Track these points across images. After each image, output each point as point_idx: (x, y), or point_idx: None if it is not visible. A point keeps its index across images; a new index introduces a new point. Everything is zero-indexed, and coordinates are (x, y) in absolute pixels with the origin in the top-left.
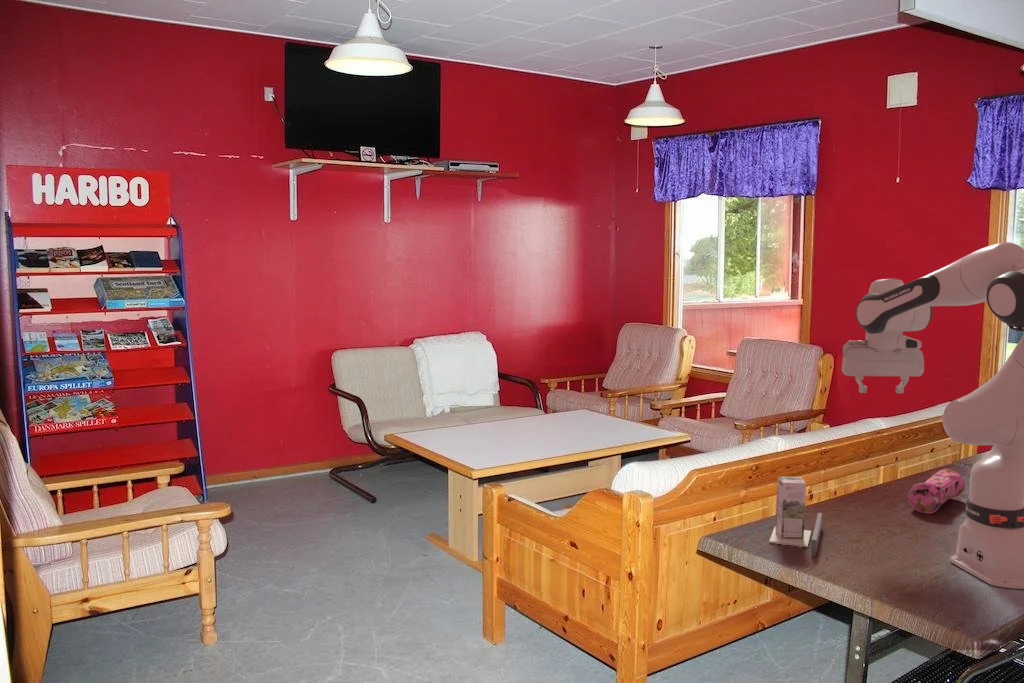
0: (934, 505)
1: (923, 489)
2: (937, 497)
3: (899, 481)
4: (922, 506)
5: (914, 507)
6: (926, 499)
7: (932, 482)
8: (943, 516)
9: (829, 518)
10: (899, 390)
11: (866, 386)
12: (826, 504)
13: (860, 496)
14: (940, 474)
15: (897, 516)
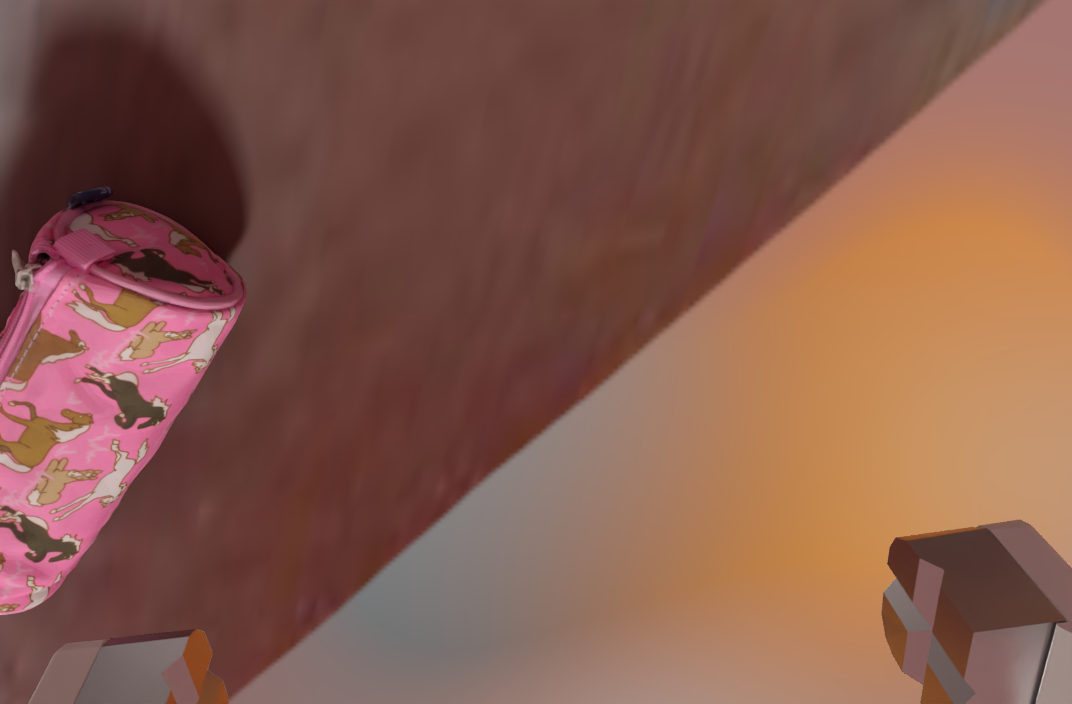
0: (106, 209)
1: (146, 275)
2: (72, 230)
3: None
4: (178, 229)
5: (221, 259)
6: (144, 238)
7: (72, 382)
8: (74, 178)
9: (732, 41)
10: (144, 670)
11: (979, 646)
12: (671, 294)
13: (461, 451)
14: (6, 542)
15: (337, 138)
